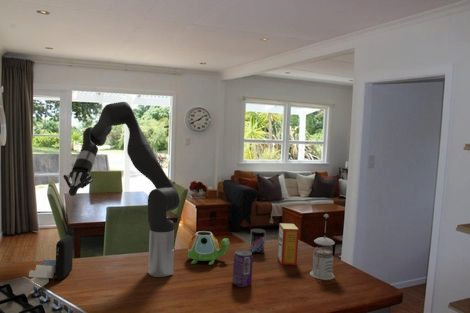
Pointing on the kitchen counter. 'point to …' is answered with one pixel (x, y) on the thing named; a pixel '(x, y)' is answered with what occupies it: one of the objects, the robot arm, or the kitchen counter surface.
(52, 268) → the ivory domino
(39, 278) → the ivory domino
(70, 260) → the carrying case or bag
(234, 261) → the beverage can
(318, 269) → the french press
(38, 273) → the ivory domino
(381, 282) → the kitchen counter surface
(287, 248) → the baking soda box
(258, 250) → the supplement container
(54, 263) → the blue-grey rectangular block
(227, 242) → the turtle holder
